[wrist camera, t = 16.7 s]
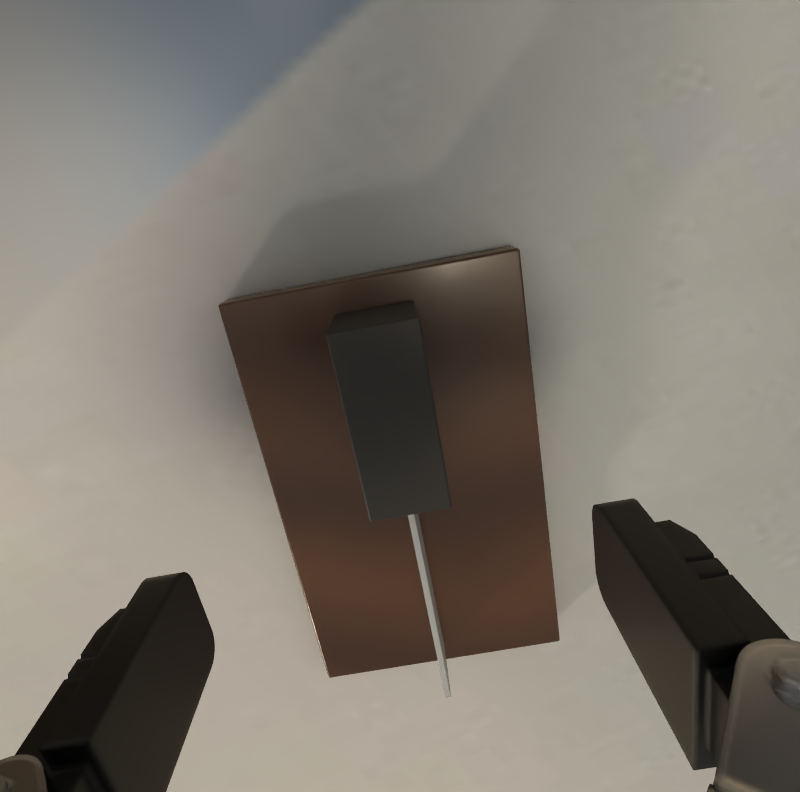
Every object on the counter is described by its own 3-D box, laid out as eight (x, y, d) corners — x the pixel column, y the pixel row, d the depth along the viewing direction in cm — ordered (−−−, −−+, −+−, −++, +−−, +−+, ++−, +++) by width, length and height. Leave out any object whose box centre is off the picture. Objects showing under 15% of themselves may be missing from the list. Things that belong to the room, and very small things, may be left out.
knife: (333, 314, 20) (325, 334, 17) (414, 299, 20) (419, 316, 17) (409, 651, 25) (412, 707, 23) (473, 640, 25) (484, 696, 22)
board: (226, 299, 21) (217, 304, 20) (512, 245, 20) (519, 248, 19) (330, 658, 27) (328, 678, 26) (552, 622, 27) (560, 641, 25)
